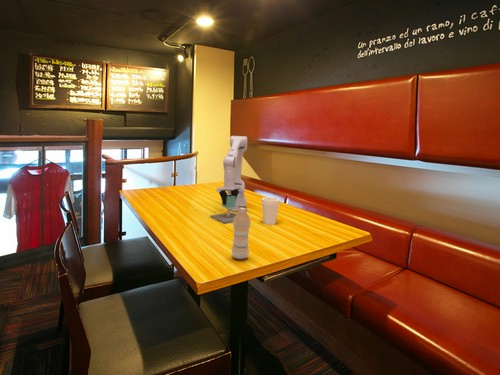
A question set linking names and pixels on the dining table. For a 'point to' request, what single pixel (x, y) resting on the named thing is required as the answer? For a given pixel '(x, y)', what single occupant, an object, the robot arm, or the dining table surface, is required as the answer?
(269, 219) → the foam cup
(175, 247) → the dining table surface
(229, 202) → the sleeve
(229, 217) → the stub board
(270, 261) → the dining table surface
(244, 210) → the plastic bottle
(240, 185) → the robot arm
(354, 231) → the dining table surface
